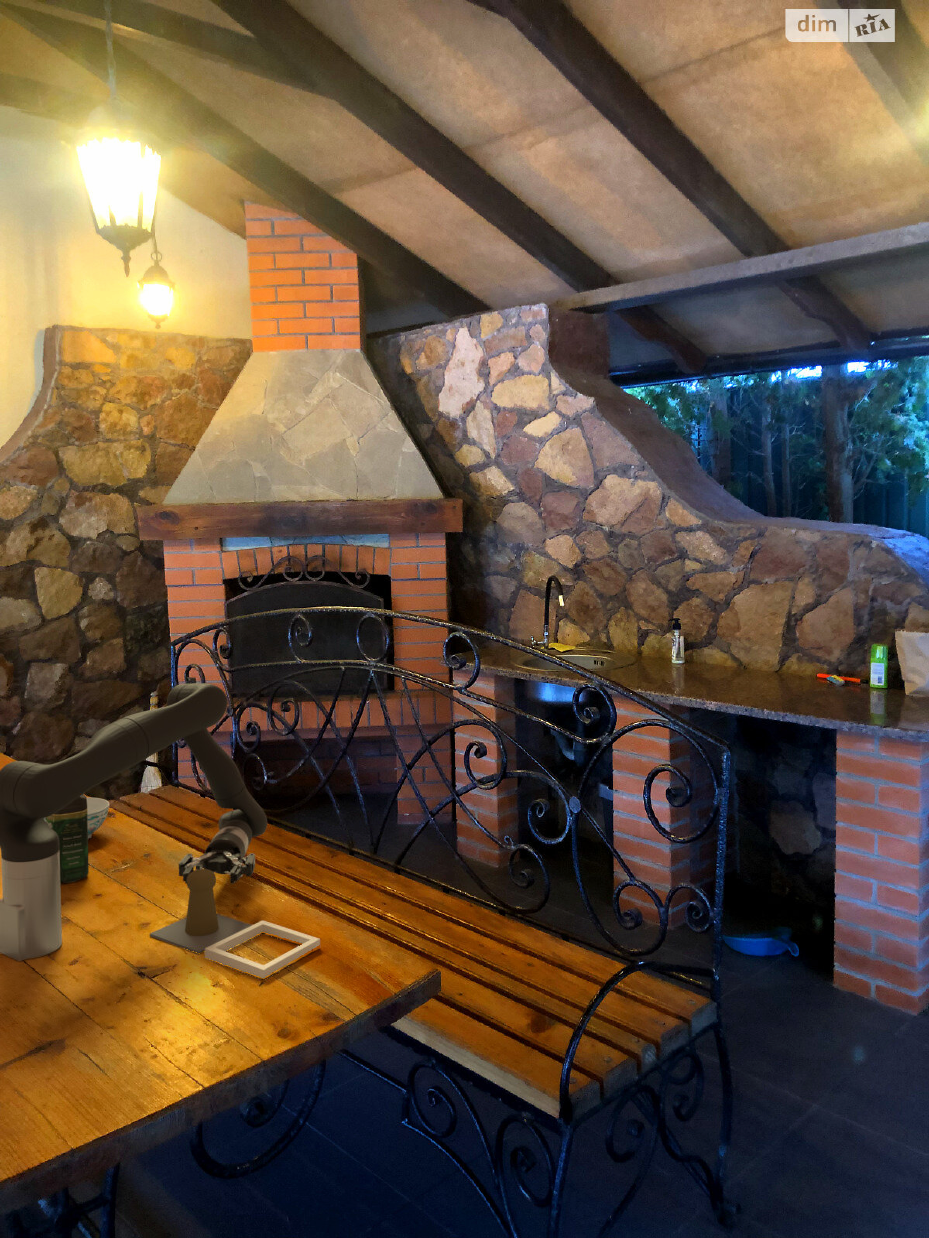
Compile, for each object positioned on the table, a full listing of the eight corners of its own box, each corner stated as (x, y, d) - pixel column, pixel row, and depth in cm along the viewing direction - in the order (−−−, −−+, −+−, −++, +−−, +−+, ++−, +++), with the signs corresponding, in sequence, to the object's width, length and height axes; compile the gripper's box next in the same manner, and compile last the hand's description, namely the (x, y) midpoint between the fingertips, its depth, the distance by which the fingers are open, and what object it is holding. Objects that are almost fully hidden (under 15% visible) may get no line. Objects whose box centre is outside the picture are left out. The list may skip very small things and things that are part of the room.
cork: (177, 931, 169) (176, 873, 168) (201, 919, 174) (200, 863, 173) (202, 938, 166) (201, 879, 165) (225, 926, 172) (225, 869, 170)
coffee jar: (93, 879, 195) (91, 793, 193) (53, 887, 190) (50, 799, 188) (82, 865, 203) (80, 782, 201) (43, 872, 198) (40, 788, 196)
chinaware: (63, 853, 210) (62, 820, 209) (29, 839, 219) (28, 807, 218) (122, 836, 222) (121, 805, 221) (88, 823, 231) (87, 793, 230)
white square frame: (263, 980, 152) (263, 969, 152) (204, 958, 160) (204, 948, 160) (320, 948, 164) (320, 938, 164) (262, 929, 172) (262, 920, 171)
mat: (199, 954, 161) (199, 951, 161) (149, 935, 168) (149, 933, 168) (253, 927, 172) (253, 925, 172) (204, 911, 179) (204, 909, 179)
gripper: (192, 831, 191) (171, 859, 175) (261, 831, 192) (247, 859, 176) (193, 866, 192) (172, 897, 176) (262, 866, 193) (247, 897, 177)
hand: (209, 878), depth 176 cm, fingers open, 8 cm apart
